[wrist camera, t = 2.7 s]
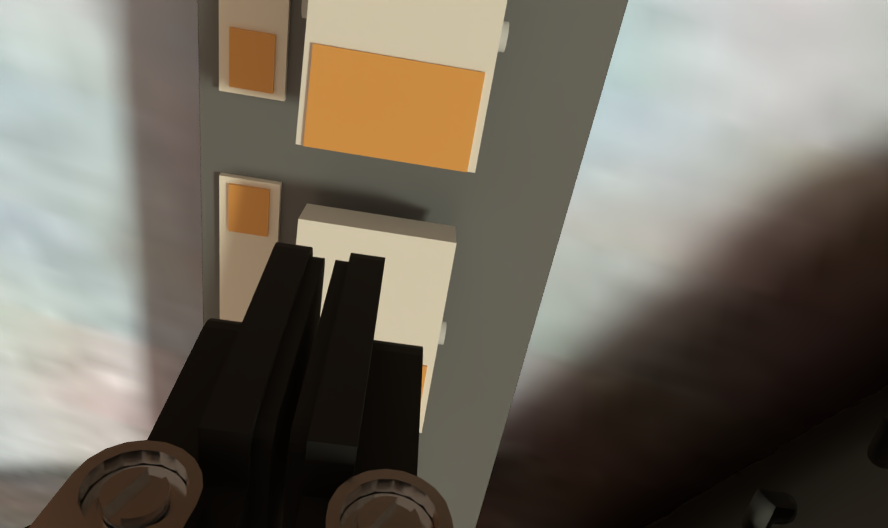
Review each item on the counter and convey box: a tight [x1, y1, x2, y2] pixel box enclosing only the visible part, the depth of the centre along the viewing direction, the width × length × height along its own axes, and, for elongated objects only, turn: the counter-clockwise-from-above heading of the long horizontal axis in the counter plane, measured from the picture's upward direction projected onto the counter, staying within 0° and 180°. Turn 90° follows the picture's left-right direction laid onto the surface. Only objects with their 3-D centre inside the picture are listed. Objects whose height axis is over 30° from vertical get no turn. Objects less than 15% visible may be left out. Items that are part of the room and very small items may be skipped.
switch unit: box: [198, 0, 628, 528], centre depth 24 cm, size 28×11×4 cm, turn 171°
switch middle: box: [296, 203, 457, 433], centre depth 22 cm, size 6×5×2 cm
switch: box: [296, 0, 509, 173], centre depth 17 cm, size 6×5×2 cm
